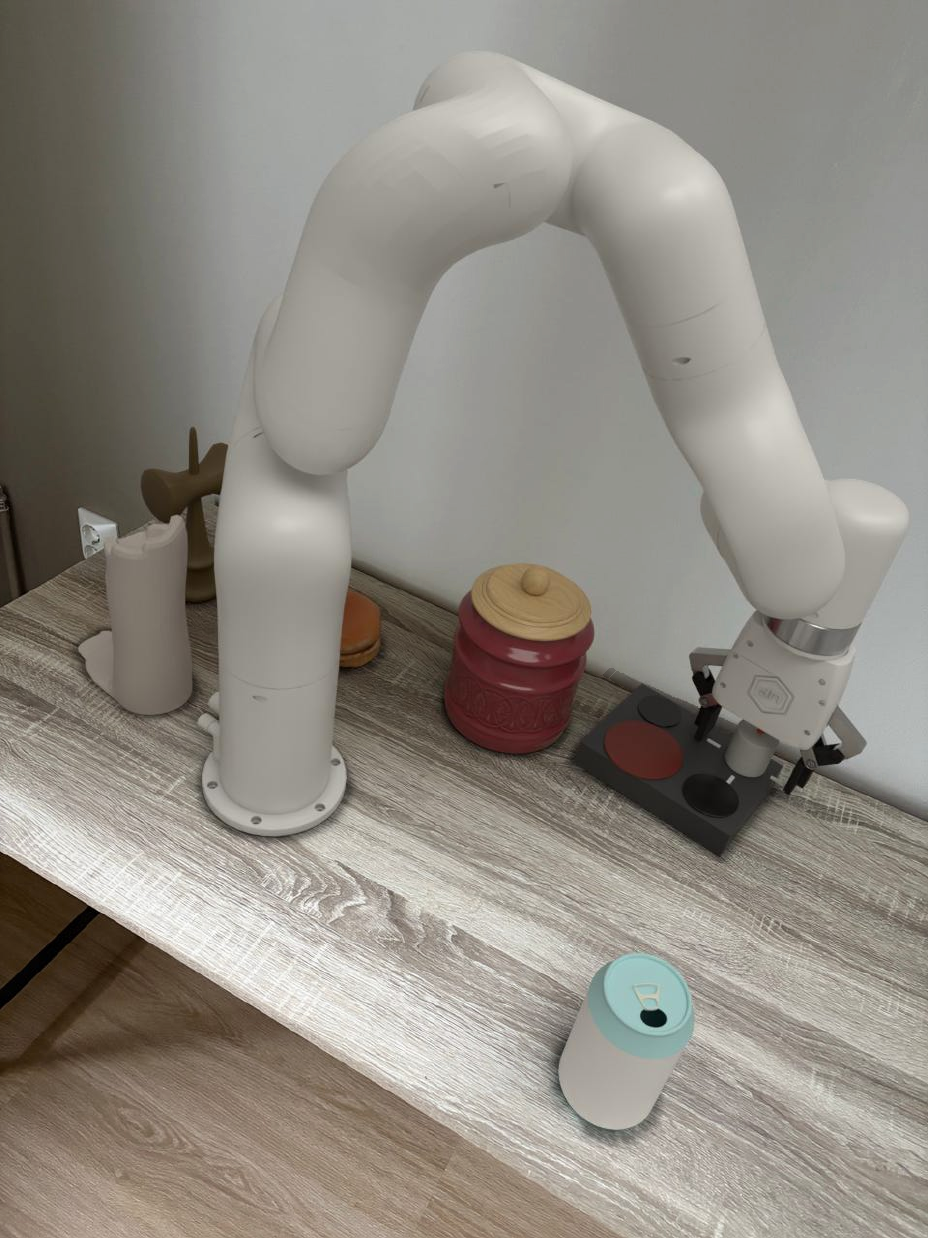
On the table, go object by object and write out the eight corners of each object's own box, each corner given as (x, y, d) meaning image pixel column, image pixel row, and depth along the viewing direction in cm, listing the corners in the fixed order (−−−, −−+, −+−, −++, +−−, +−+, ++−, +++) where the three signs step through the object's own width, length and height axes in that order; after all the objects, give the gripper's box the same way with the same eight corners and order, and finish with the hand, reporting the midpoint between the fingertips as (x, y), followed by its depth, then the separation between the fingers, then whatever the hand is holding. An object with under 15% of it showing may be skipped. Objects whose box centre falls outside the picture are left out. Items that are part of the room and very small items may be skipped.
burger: (390, 666, 102) (395, 631, 99) (301, 676, 99) (303, 641, 96) (367, 608, 109) (370, 574, 106) (283, 616, 106) (284, 582, 103)
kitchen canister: (594, 731, 99) (638, 592, 88) (490, 774, 92) (525, 629, 81) (518, 654, 106) (550, 518, 96) (417, 689, 100) (440, 546, 89)
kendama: (250, 588, 109) (252, 426, 97) (177, 622, 103) (170, 453, 90) (215, 563, 112) (213, 402, 99) (142, 594, 105) (131, 427, 93)
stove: (573, 762, 95) (580, 739, 93) (642, 697, 104) (649, 674, 102) (730, 864, 88) (742, 841, 86) (789, 784, 97) (801, 762, 95)
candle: (120, 622, 101) (105, 451, 89) (208, 691, 95) (204, 518, 83) (57, 652, 96) (32, 476, 84) (145, 726, 90) (131, 548, 78)
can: (672, 1089, 70) (723, 998, 63) (612, 1156, 66) (659, 1067, 59) (598, 1018, 74) (638, 924, 67) (536, 1078, 70) (571, 984, 62)
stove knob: (745, 783, 92) (760, 751, 89) (715, 754, 94) (729, 722, 91) (774, 769, 94) (789, 737, 91) (744, 742, 96) (758, 710, 94)
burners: (588, 749, 92) (589, 747, 92) (650, 690, 100) (650, 688, 100) (719, 832, 86) (720, 830, 86) (773, 762, 95) (774, 760, 94)
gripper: (701, 589, 84) (649, 731, 95) (894, 691, 77) (815, 832, 87) (739, 557, 89) (686, 695, 100) (923, 649, 82) (845, 788, 93)
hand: (746, 759), depth 94 cm, fingers open, 9 cm apart
